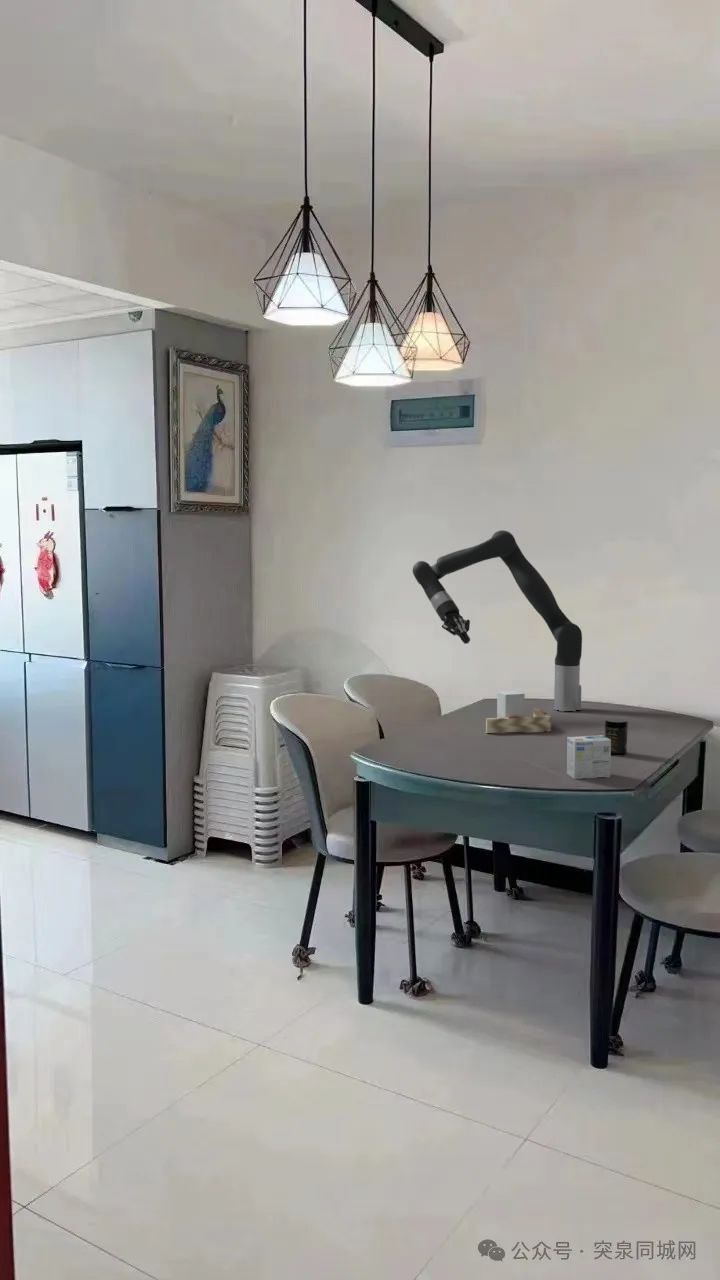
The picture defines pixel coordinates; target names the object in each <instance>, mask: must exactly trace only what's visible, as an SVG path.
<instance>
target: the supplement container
mask: <svg viewBox="0 0 720 1280" xmlns="http://www.w3.org/2000/svg"><path fill="white" fill-rule="evenodd" d="M628 726H629V720H628V719H626V718H620V717H608V718H605V720H604V737H606V738H608V739H610V740H611V756H613V755H622V756H625V755H627V753H628V735H629V734H628V733H629V732H628V729H629V728H628Z"/></svg>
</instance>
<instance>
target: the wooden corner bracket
mask: <svg viewBox="0 0 720 1280" xmlns="http://www.w3.org/2000/svg"><path fill="white" fill-rule="evenodd" d="M544 731H547V733H548V732H549V731H550V732H551V731H552V716H551V715H550V714H548V712H547V711H545V710H544V709H540V708H538V707H533V708H532V716H524V717H523V716H508V718H497V717H494V718H493V717H492V718H490V717H488V718H487V717H486V718H485V734H486V733H497V734H505V733H504V732H524V733H542V732H544Z"/></svg>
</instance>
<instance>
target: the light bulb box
mask: <svg viewBox="0 0 720 1280" xmlns="http://www.w3.org/2000/svg"><path fill="white" fill-rule="evenodd" d="M566 737H567V738H566V739H567V741H566V744H567V745H566V746H567V747H566V774H567V775H568V776H569V777H571V778H572V779H574V780H579V779H583V778H586V779H598V778H597V777H606V778H611V763H612V762H611V761H612V760H611V758H612V757H611V756H612V755H611V740H610V739H608V738H606V737H605V735H602V734H601V735H581V736H566Z"/></svg>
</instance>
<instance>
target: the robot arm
mask: <svg viewBox="0 0 720 1280" xmlns="http://www.w3.org/2000/svg"><path fill="white" fill-rule="evenodd" d="M497 558H500V559H501V561H503V563H504V564H505V566H506V567H507V568H508V569H509V571H510V572H511V575H512V577H513V579H514V581H515V583H516V584H517V586H518V588H519V590H520V591H521V592H522V595H524V597H525V598H526V600H527V601H528V602H529V603H530V605H531V606H532V608H533V609H534V610H535V611H536V612H537V613H538V614H539V615H540V616H541V618H542V619H543V621H544V622H545V623H546V625H547V628H548V629H549V630H550V632H551V634H552V636H553V637H554V640H555V641H556V655H555V658H554V688H553V689H554V692H553V693H554V695H553V696H554V698H553V701H554V702H553V709H555V710H554V711H557V710H559V711H558V712H564V711H573V712H577V711H576V710H582V685H581V684H580V680H581V679H580V678H581V677H580V674H581V673H580V672H581V659H582V652H583V651H582V649H583V644H582V643H583V633H582V630H581V628H580V627H579V625H577V624H575V623H573V622H572V621H571V620H570V619H569V618H568V617H567V616H566V614H565V613H564V611H562V609H561V608H560V606H559V604H558V601H557V600H556V598H555V596H554V593H553V591H552V589H551V588H550V586H549V584H548V583H547V582H546V580H545V579H544V577H543V576H542V575H541V574H540V572H539V571H538V570H537V569H536V568H535V566H533V565H532V563H530V561H529V560H528V559H527V558H526V557H525V555H524V553H523V552H522V550H521V549H520V546H519V545H518V543H517V542H516V539H515V536H514V535H513V534H512V533H511V532H510V531H507V530H503V529H502V530H498V531H495V532H494V533H493V534H492V535H491V538H488V540H486V541H483V542H481V543H480V544H476V545H474V546H471V547H467V548H463V549H459V550H457V551H453V552H450V553H448V554H445V555H443V556H440V557H438V558H437V559H436V562H435V564H432V565H430V564H429V563H428V562H426V561H424V560H419V561H417V562H416V563H415V564H413V567H412V574H413V577H414V579H415V581H416V582H417V583H418V584H419V585H420V586H421V588H422V589H423V591H424V593H425V595H426V597H427V599H428V601H429V602H430V604H431V605H432V608H433V610H434V611H435V612H436V614H437V616H438V617H439V619H440V620H441V622H443V624H442V625H441V628H442V629H444V630H445V631H446V632H448V633H449V634H451V635H453V636H457V637H459V638H460V640H461V641H462V643H463V644H469V643H470V642H471V638H470V636H469V634H468V632H469V631H470V626H471V625H470V624H471V620H470V619H464V618H463V616H462V615H461V614H460V609H459V607H458V606H457V605H456V603H455V601H454V600H453V598H452V597H451V595H450V594H449V593H448V592H447V590H446V588H445V587H444V585H443V584H442V583H441V582H440V580H441V579H443V578H444V577H445V576H446V575H450V574H452V573H455V572H457V571H460V570H462V569H465V568H467V567H471V566H472V565H475V564H477V563H481V562H484V561H487V560H491V559H497Z"/></svg>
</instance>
